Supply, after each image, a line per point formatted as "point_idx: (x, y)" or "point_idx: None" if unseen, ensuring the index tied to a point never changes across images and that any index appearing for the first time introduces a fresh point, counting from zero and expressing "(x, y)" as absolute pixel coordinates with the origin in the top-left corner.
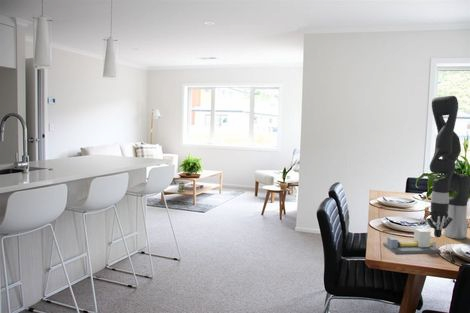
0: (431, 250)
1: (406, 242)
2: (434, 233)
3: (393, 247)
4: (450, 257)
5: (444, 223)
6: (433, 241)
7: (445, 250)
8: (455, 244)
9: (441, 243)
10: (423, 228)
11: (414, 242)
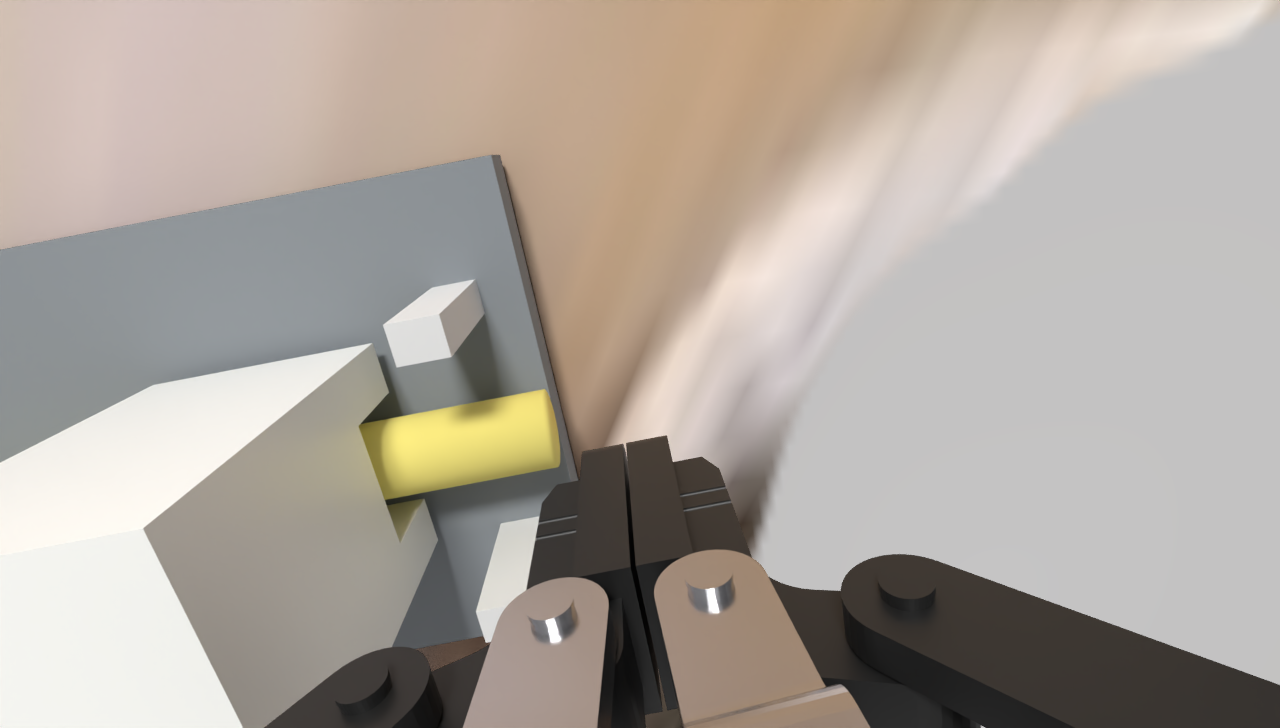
0: (438, 640)
1: (19, 262)
2: (543, 538)
3: None
4: (668, 722)
5: (1100, 722)
6: (481, 615)
7: (739, 450)
8: (1136, 58)
9: (875, 16)
10: (102, 543)
11: None
